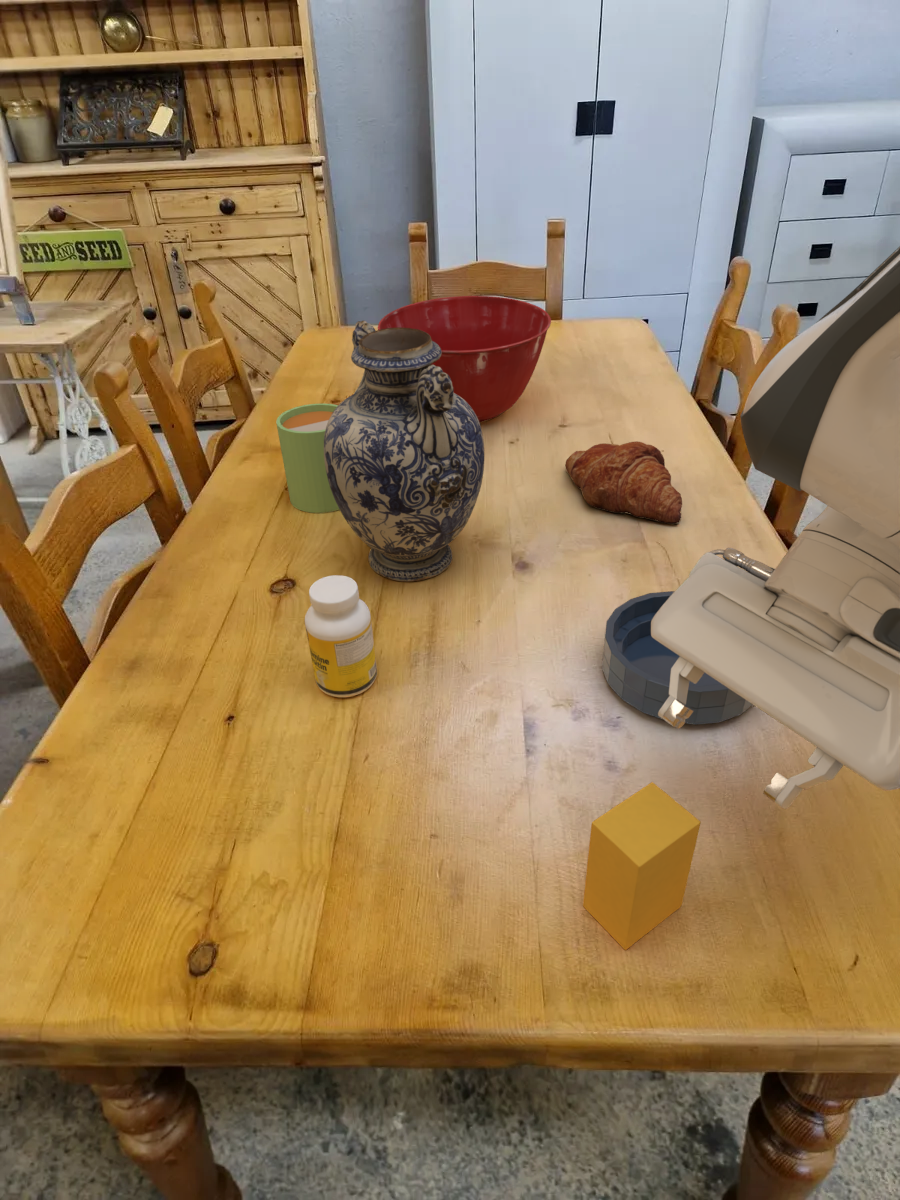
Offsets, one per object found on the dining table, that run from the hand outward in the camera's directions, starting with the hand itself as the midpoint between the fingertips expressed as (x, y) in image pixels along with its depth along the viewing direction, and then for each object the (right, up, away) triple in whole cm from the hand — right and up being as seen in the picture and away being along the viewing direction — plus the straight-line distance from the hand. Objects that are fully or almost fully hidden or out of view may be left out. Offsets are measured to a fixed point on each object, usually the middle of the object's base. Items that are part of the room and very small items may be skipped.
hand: (718, 759), depth 57 cm
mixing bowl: (-16, +45, +83) cm, 95 cm away
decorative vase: (-24, +17, +44) cm, 53 cm away
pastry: (+5, +26, +55) cm, 61 cm away
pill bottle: (-30, +3, +26) cm, 40 cm away
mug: (-38, +27, +60) cm, 76 cm away
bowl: (+4, +4, +24) cm, 25 cm away
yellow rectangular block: (-5, -12, +3) cm, 13 cm away
